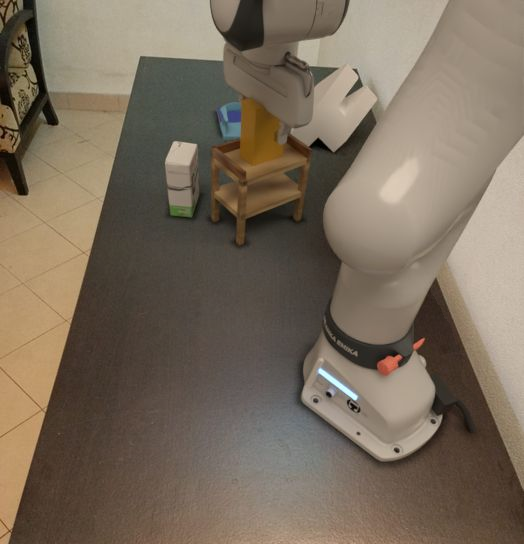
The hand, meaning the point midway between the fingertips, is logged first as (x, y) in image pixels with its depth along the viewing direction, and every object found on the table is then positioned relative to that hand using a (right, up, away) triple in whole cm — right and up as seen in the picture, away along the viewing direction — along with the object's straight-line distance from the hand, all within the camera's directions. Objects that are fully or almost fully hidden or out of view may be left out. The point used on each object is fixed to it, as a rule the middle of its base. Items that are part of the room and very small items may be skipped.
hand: (263, 130), depth 83 cm
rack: (-1, -12, +15) cm, 19 cm away
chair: (-7, +7, +29) cm, 31 cm away
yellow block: (0, -3, +4) cm, 5 cm away
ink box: (-17, -8, +16) cm, 25 cm away
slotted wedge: (+17, +16, +39) cm, 45 cm away
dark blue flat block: (-7, +20, +40) cm, 45 cm away
